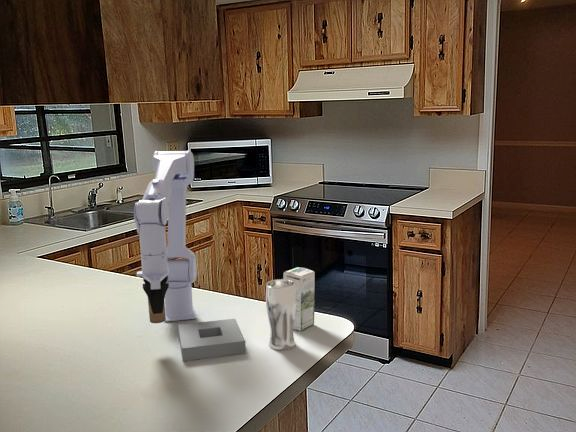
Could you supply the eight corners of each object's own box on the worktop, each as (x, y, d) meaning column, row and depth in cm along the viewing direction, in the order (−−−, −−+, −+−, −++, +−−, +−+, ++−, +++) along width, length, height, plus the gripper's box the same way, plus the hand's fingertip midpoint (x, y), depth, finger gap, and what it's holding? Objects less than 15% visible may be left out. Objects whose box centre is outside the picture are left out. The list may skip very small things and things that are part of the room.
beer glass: (271, 353, 123) (269, 289, 121) (264, 340, 130) (262, 280, 127) (300, 349, 125) (299, 286, 122) (292, 337, 132) (291, 277, 129)
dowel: (150, 318, 127) (147, 285, 125) (165, 316, 128) (163, 283, 126) (149, 324, 124) (146, 290, 122) (165, 322, 124) (163, 288, 123)
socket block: (178, 336, 134) (178, 324, 133) (235, 329, 137) (235, 318, 136) (182, 361, 120) (181, 348, 120) (245, 353, 124) (245, 340, 123)
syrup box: (297, 319, 143) (296, 266, 140) (315, 324, 139) (314, 270, 136) (283, 326, 139) (282, 271, 136) (301, 332, 135) (300, 275, 132)
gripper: (136, 246, 129) (140, 300, 131) (134, 262, 115) (138, 323, 117) (166, 243, 130) (170, 298, 133) (168, 259, 116) (172, 319, 119)
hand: (157, 309), depth 125 cm, fingers closed on dowel, 4 cm apart
